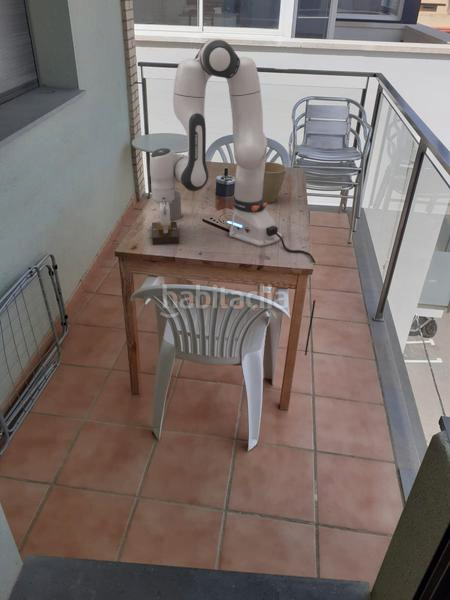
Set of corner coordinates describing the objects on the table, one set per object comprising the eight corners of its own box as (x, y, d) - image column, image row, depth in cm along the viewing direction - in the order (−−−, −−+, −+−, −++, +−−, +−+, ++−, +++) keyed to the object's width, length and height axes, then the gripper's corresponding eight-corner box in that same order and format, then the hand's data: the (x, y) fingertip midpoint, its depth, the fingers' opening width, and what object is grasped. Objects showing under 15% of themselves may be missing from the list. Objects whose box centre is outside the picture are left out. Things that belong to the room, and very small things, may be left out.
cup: (173, 210, 209) (172, 189, 203) (185, 216, 204) (184, 194, 198) (157, 215, 204) (156, 193, 198) (170, 221, 199) (169, 199, 193)
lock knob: (158, 230, 185) (158, 222, 183) (158, 228, 186) (157, 220, 184) (171, 229, 185) (170, 221, 183) (170, 228, 187) (170, 220, 185)
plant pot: (267, 208, 213) (270, 174, 204) (245, 199, 222) (246, 165, 213) (289, 201, 222) (293, 167, 213) (267, 192, 231) (269, 159, 222)
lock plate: (178, 243, 182) (178, 236, 180) (152, 244, 181) (152, 237, 179) (176, 228, 194) (176, 221, 192) (152, 229, 192) (151, 222, 191)
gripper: (173, 203, 169) (174, 238, 177) (170, 184, 186) (171, 216, 194) (155, 204, 168) (158, 239, 176) (154, 184, 185) (156, 217, 193)
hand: (165, 227), depth 185 cm, fingers open, 8 cm apart
